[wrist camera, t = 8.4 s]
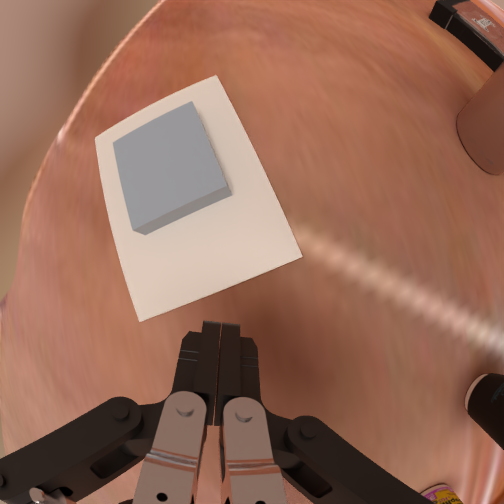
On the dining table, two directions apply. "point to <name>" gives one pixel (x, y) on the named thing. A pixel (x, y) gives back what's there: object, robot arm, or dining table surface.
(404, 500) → the robot arm
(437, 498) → the supplement bottle
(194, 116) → the tile
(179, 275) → the board
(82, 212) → the dining table surface
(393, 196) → the dining table surface
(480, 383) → the dixie cup
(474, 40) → the book
